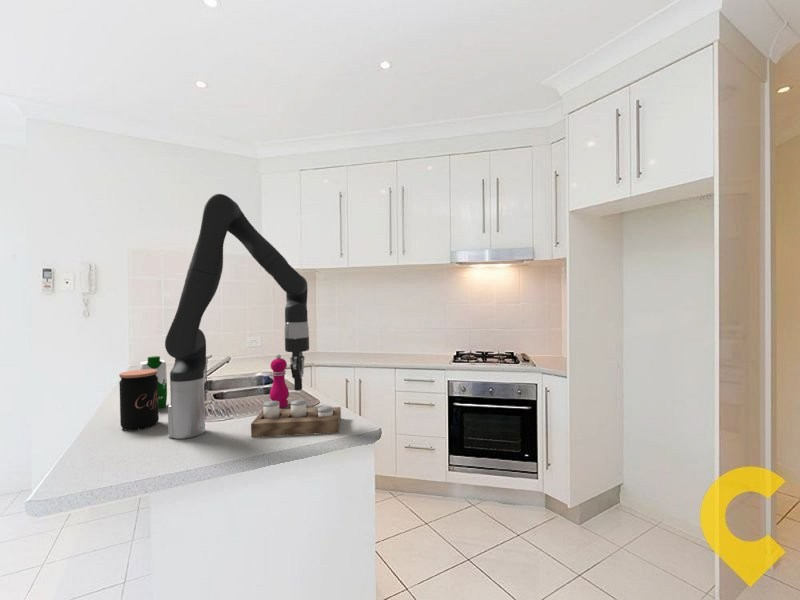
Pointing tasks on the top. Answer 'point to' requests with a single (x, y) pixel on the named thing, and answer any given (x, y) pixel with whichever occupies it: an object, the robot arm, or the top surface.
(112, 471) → the top surface
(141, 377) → the coffee jar
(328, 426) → the control board
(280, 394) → the pepper mill
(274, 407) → the knob
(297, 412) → the middle knob
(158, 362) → the milk carton
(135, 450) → the top surface
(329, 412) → the knob
